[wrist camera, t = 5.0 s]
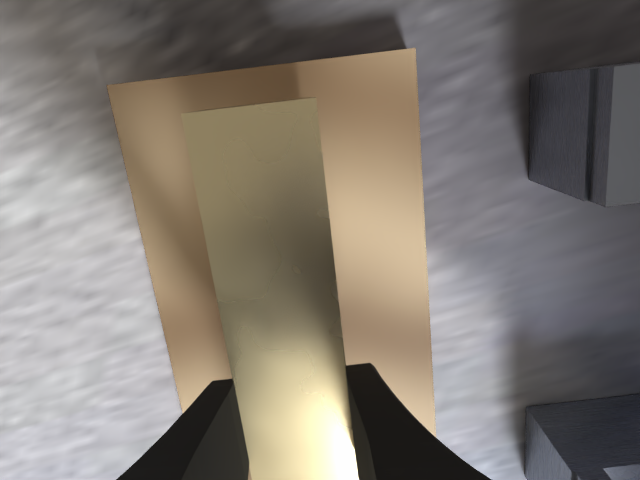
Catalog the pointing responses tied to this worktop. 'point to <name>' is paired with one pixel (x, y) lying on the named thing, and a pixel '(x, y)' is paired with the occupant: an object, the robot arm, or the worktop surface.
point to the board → (343, 203)
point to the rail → (275, 283)
